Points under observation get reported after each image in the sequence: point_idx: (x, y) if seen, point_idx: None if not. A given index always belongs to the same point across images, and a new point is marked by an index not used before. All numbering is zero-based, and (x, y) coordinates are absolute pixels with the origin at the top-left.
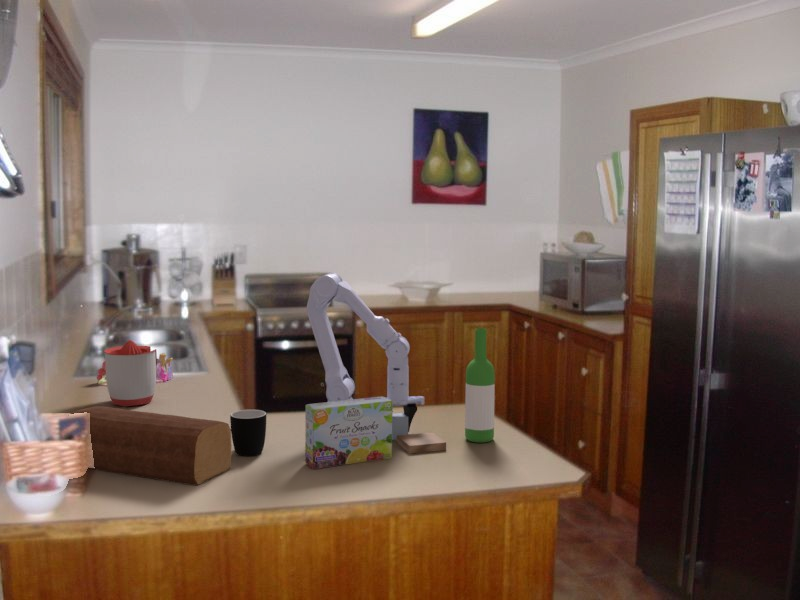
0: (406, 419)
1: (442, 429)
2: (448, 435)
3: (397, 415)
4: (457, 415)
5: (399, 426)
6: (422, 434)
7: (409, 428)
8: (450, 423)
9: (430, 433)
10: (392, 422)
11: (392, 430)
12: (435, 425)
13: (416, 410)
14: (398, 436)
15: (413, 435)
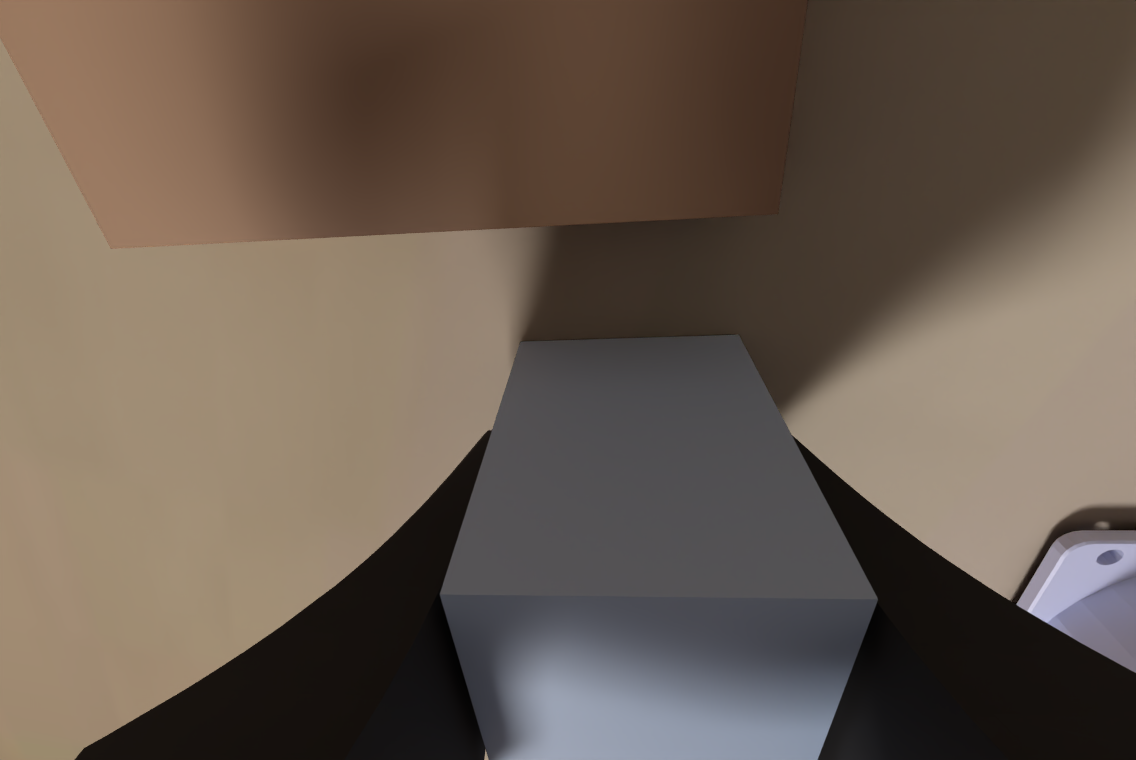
0: (500, 543)
1: (121, 535)
2: (9, 340)
3: (653, 718)
4: (61, 747)
5: (659, 447)
6: (281, 145)
7: (468, 453)
8: (77, 641)
9: (131, 175)
10: (825, 524)
11: (775, 417)
12: (201, 632)
13: (96, 750)
14: (780, 132)
15: (464, 125)
